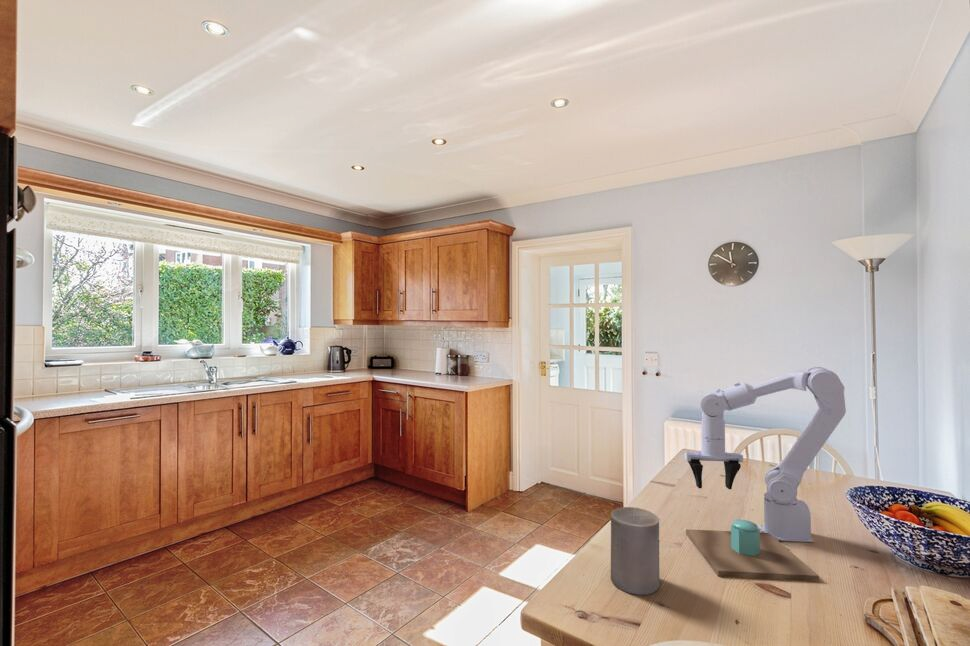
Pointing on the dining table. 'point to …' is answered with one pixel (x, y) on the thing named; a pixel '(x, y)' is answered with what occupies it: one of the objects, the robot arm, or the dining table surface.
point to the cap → (745, 537)
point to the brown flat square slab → (750, 558)
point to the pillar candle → (635, 550)
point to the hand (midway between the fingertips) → (713, 487)
